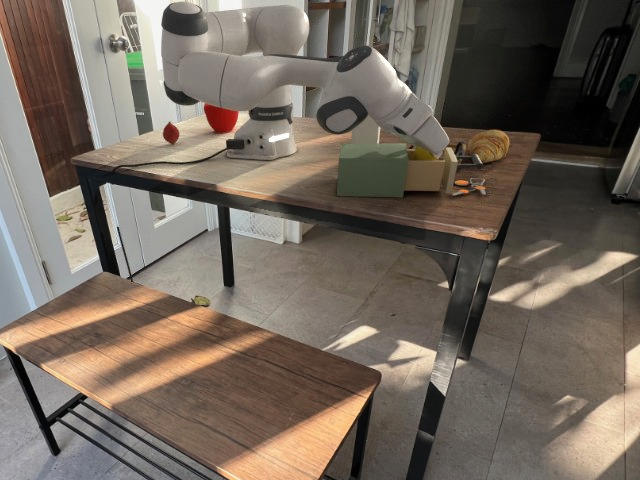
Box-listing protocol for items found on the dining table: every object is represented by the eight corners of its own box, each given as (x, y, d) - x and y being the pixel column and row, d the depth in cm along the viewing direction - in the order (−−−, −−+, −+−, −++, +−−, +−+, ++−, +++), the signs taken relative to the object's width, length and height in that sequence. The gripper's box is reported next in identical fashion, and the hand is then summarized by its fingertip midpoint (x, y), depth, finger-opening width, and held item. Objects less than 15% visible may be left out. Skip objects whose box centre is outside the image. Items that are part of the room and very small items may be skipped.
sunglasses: (404, 155, 127) (407, 137, 124) (462, 157, 122) (466, 139, 119) (399, 170, 117) (401, 151, 114) (461, 174, 111) (466, 154, 108)
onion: (161, 146, 156) (157, 123, 151) (169, 142, 160) (166, 119, 155) (175, 147, 154) (172, 123, 149) (183, 142, 158) (180, 119, 153)
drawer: (470, 177, 106) (477, 147, 102) (478, 194, 97) (486, 161, 93) (386, 176, 111) (389, 147, 107) (386, 192, 102) (390, 161, 98)
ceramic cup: (219, 124, 178) (216, 97, 173) (247, 129, 168) (245, 101, 162) (194, 131, 172) (190, 103, 166) (221, 136, 161) (219, 107, 155)
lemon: (438, 174, 100) (445, 138, 95) (412, 174, 101) (418, 139, 96) (434, 166, 104) (440, 132, 100) (410, 167, 105) (415, 132, 101)
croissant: (485, 180, 115) (508, 155, 109) (453, 159, 117) (474, 133, 111) (502, 156, 128) (523, 133, 122) (473, 137, 130) (492, 113, 124)
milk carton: (377, 156, 128) (384, 85, 118) (375, 163, 123) (382, 90, 112) (352, 155, 130) (357, 86, 120) (349, 162, 125) (354, 90, 114)
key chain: (456, 178, 108) (457, 175, 108) (489, 181, 105) (490, 177, 105) (448, 196, 99) (449, 192, 99) (484, 200, 96) (485, 196, 96)
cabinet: (400, 179, 111) (405, 143, 106) (402, 197, 101) (408, 158, 96) (340, 179, 115) (342, 143, 110) (336, 195, 105) (338, 158, 100)
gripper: (364, 114, 103) (396, 150, 110) (410, 133, 86) (445, 175, 93) (383, 91, 101) (415, 130, 108) (434, 107, 84) (468, 151, 91)
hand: (429, 151), depth 100 cm, fingers closed on lemon, 5 cm apart
